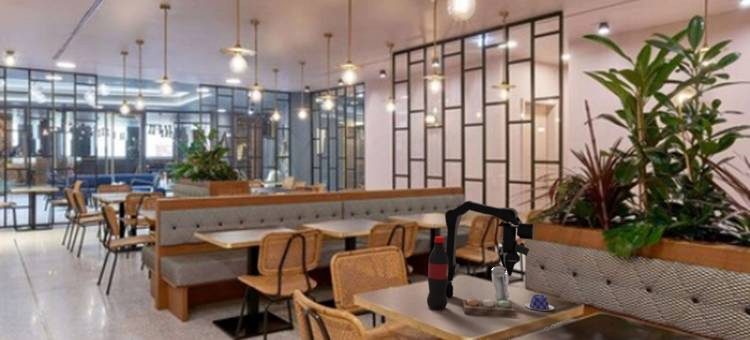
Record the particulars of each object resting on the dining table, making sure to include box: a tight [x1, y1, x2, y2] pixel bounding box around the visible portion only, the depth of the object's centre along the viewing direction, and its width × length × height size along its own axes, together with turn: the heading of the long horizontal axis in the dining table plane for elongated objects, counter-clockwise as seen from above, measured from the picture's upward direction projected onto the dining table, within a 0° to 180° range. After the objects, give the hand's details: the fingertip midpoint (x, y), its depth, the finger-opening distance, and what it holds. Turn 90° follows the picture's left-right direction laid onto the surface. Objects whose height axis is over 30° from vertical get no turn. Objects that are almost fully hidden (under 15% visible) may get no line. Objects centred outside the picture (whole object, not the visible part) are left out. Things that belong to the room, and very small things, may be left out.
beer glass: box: [491, 265, 510, 301], centre depth 235 cm, size 7×7×15 cm
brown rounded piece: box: [466, 298, 479, 306], centre depth 221 cm, size 4×4×3 cm
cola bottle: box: [426, 235, 449, 311], centre depth 222 cm, size 8×8×30 cm
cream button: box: [482, 299, 494, 307], centre depth 220 cm, size 4×4×3 cm
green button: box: [498, 300, 511, 308], centre depth 220 cm, size 4×4×3 cm
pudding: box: [524, 294, 555, 312], centre depth 228 cm, size 12×12×5 cm
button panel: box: [461, 299, 516, 318], centre depth 221 cm, size 20×12×2 cm, turn 85°
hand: (507, 273), depth 230 cm, fingers open, 9 cm apart
